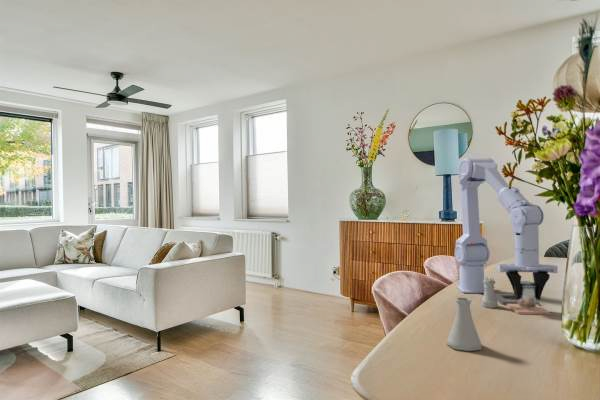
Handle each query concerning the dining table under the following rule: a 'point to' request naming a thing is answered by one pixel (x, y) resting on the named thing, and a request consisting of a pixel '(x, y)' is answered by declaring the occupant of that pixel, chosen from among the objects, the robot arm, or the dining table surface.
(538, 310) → the tile
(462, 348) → the flask
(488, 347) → the dining table surface
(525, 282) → the glass jar
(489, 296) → the rook chess piece
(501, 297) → the bore plate
